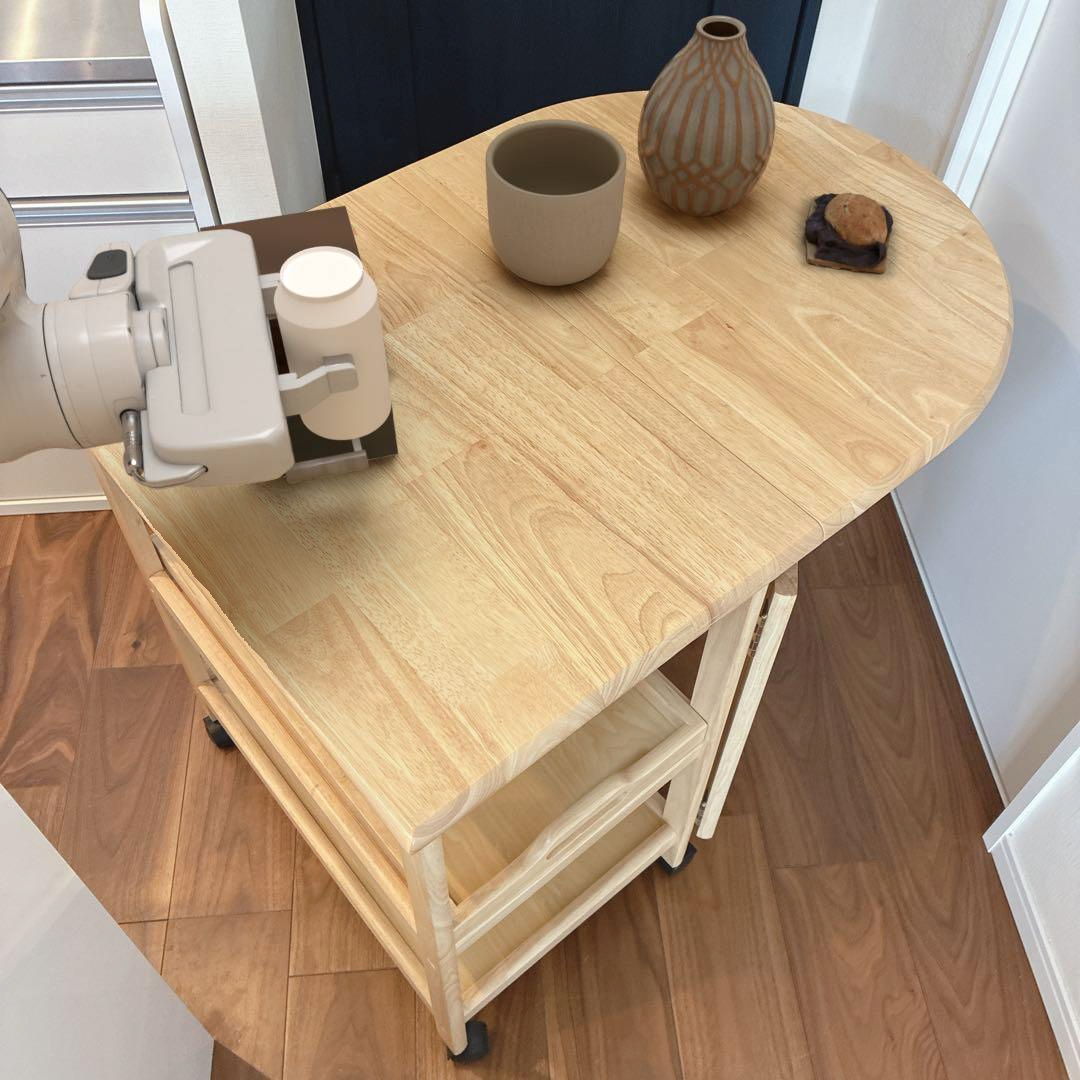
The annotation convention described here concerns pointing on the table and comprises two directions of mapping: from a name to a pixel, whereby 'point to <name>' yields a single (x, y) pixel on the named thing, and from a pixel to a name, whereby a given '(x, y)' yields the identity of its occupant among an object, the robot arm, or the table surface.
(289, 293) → the beverage can
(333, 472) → the drawer
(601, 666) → the table surface
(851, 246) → the bread roll
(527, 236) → the planter
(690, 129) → the vase
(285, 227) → the cabinet
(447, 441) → the table surface
